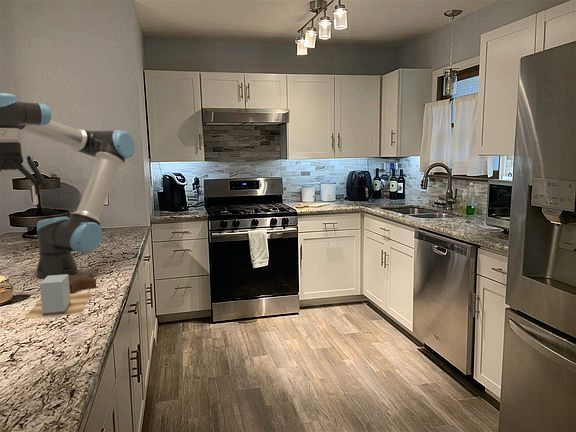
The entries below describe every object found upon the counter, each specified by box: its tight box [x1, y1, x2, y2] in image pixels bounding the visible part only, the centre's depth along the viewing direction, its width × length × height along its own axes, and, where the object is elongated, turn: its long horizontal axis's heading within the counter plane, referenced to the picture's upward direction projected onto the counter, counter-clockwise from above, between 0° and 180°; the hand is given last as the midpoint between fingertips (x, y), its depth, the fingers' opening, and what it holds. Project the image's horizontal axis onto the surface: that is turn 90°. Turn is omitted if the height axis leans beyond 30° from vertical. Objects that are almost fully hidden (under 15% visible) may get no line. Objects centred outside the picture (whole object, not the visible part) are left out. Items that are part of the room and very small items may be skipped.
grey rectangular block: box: [39, 274, 71, 316], centre depth 142 cm, size 9×6×10 cm, turn 14°
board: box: [23, 291, 94, 320], centre depth 147 cm, size 22×16×1 cm
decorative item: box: [68, 273, 97, 294], centre depth 166 cm, size 16×6×15 cm
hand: (13, 205), depth 154 cm, fingers open, 13 cm apart
